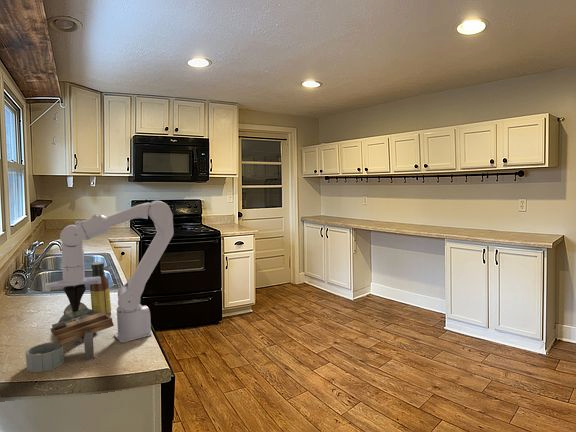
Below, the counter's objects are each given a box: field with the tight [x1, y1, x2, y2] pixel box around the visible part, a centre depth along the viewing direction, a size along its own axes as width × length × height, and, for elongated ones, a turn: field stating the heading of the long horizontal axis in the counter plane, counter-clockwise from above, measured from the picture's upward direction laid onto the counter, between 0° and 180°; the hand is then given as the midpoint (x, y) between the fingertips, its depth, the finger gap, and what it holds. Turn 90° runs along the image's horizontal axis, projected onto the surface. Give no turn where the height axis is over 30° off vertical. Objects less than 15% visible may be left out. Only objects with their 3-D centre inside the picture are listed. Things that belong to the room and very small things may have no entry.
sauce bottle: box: [89, 261, 112, 317], centre depth 142 cm, size 6×6×20 cm
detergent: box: [57, 301, 97, 335], centre depth 133 cm, size 13×7×25 cm
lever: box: [49, 312, 115, 345], centre depth 114 cm, size 14×13×2 cm
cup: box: [25, 341, 64, 373], centre depth 106 cm, size 8×8×4 cm
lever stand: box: [72, 318, 95, 362], centre depth 114 cm, size 2×16×8 cm, turn 40°
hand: (75, 310), depth 118 cm, fingers closed
